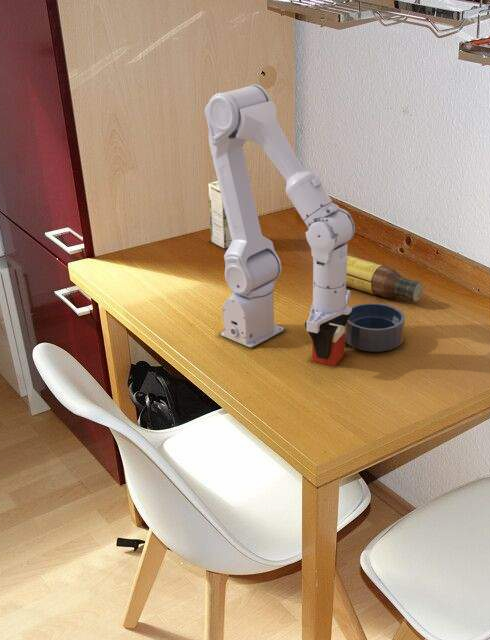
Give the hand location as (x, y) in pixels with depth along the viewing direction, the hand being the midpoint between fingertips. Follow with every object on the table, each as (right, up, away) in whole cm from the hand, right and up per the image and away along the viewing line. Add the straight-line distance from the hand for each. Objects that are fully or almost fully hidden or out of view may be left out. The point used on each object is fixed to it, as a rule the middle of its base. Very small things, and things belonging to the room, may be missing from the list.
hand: (328, 351), depth 149 cm
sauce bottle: (+2, +20, +28) cm, 34 cm away
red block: (0, -1, +1) cm, 1 cm away
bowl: (+8, +3, +7) cm, 11 cm away
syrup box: (-24, +28, +47) cm, 60 cm away
